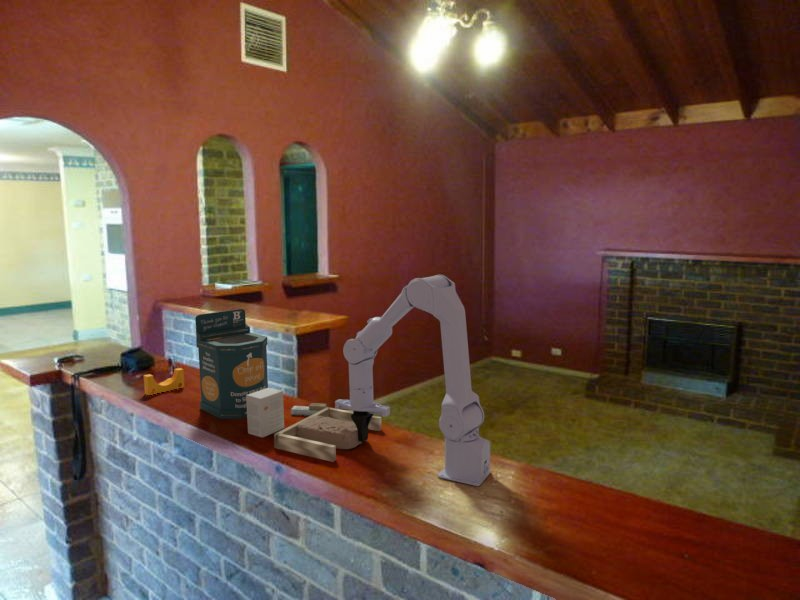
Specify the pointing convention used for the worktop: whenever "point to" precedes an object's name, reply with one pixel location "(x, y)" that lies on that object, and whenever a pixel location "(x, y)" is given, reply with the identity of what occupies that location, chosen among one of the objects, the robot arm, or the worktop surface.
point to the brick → (329, 431)
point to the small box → (265, 412)
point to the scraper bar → (308, 409)
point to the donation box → (229, 363)
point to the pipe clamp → (164, 383)
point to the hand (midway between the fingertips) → (362, 440)
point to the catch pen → (313, 448)
